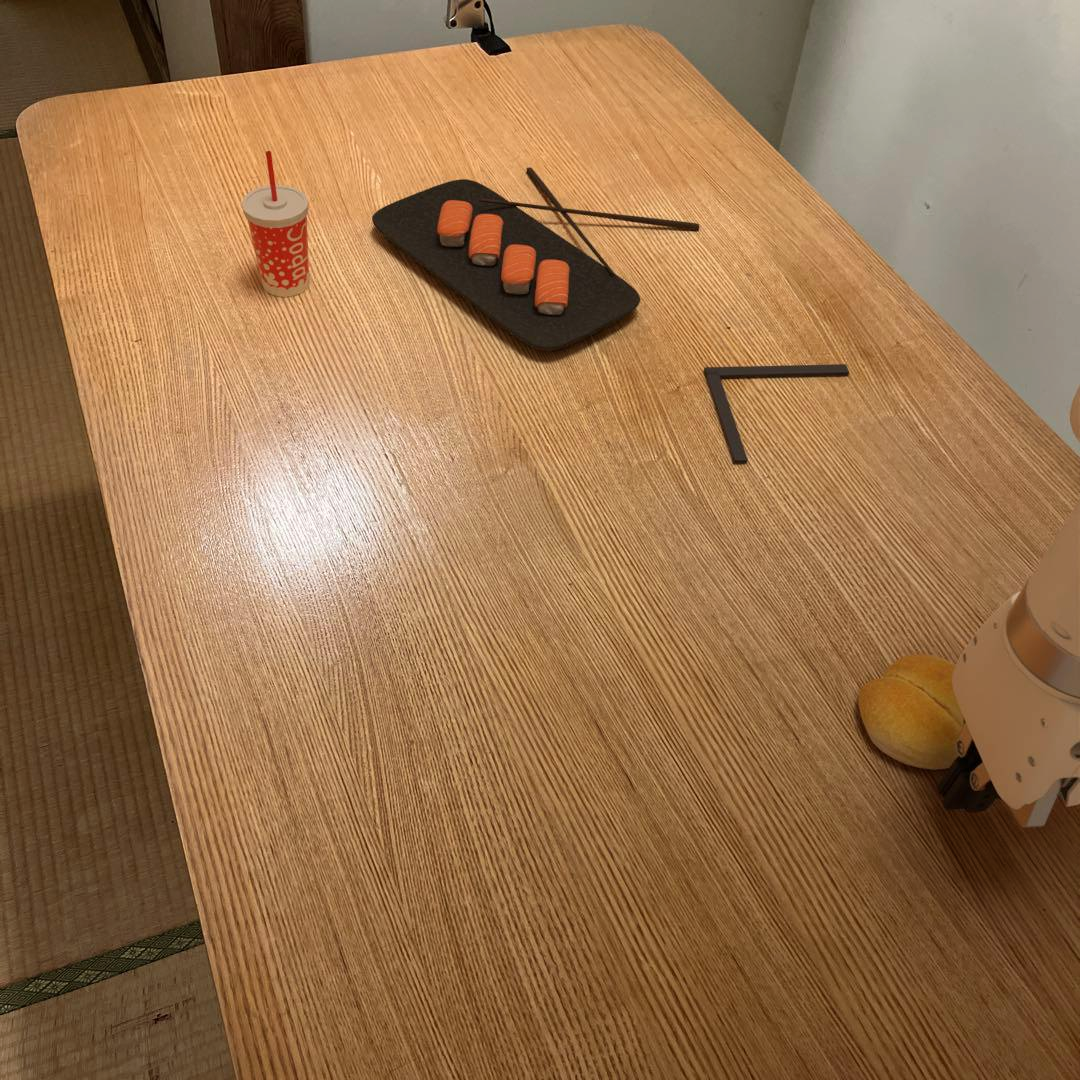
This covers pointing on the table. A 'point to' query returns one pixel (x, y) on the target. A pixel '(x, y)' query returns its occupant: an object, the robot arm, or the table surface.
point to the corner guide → (719, 373)
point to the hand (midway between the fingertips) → (961, 797)
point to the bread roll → (914, 712)
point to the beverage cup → (279, 235)
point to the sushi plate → (512, 260)
